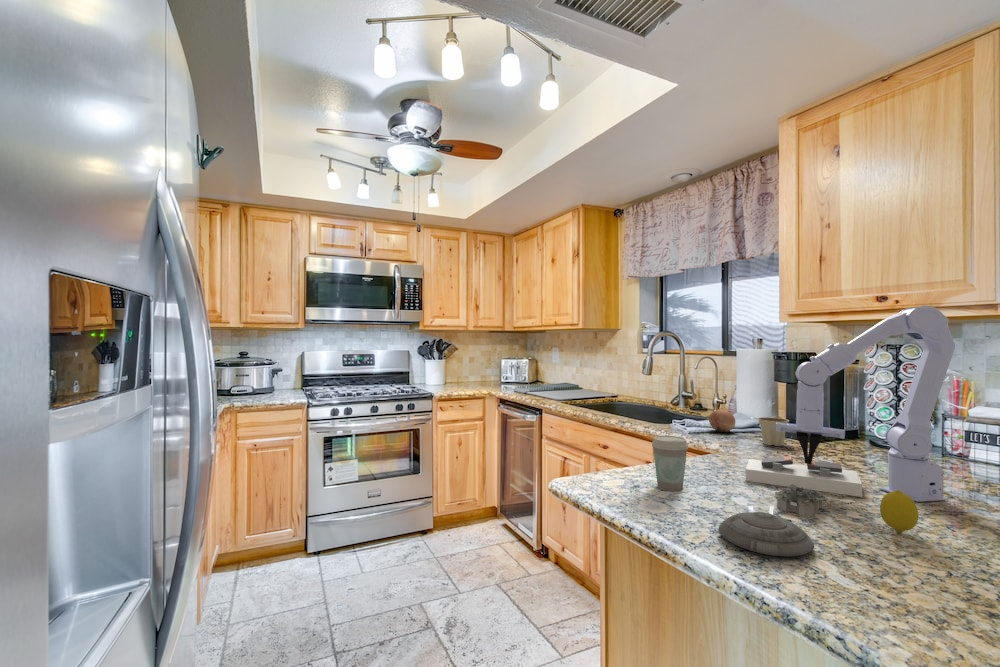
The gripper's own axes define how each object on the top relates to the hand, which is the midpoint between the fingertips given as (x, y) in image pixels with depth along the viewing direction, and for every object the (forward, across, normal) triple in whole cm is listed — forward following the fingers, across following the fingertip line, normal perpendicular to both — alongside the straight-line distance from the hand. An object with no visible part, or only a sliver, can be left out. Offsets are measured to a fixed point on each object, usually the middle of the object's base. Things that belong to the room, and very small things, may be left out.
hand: (808, 462), depth 120 cm
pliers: (+6, +5, +20) cm, 22 cm away
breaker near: (+1, +3, 0) cm, 3 cm away
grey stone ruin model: (+6, -2, -21) cm, 22 cm away
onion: (+6, -27, +61) cm, 67 cm away
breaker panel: (+5, -2, 0) cm, 5 cm away
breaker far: (+1, -7, 0) cm, 7 cm away
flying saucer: (+6, -8, -46) cm, 47 cm away
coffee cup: (+6, -29, -22) cm, 37 cm away
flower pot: (+6, -9, +46) cm, 47 cm away
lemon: (+5, +14, -28) cm, 31 cm away
